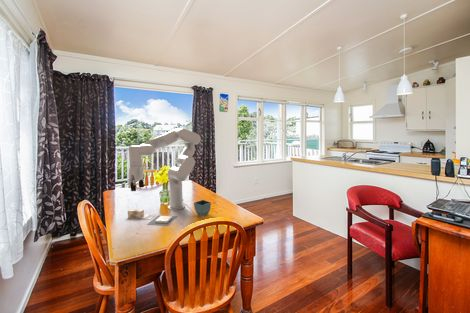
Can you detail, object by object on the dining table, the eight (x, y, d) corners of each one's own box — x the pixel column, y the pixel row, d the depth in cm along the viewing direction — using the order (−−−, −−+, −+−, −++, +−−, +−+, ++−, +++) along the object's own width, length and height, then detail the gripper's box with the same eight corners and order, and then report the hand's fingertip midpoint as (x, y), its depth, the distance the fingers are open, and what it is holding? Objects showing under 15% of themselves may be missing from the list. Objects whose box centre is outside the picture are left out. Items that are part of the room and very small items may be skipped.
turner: (126, 219, 151) (125, 211, 150) (132, 215, 158) (131, 208, 157) (150, 220, 149) (149, 212, 148) (155, 216, 156) (154, 209, 155)
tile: (160, 215, 151) (172, 216, 150) (160, 217, 151) (172, 218, 150) (155, 220, 143) (167, 221, 142) (155, 222, 144) (167, 223, 143)
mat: (158, 216, 156) (158, 215, 156) (177, 216, 154) (177, 216, 154) (146, 225, 140) (146, 224, 140) (167, 226, 138) (167, 226, 138)
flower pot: (201, 218, 152) (201, 205, 151) (193, 214, 158) (193, 202, 157) (211, 214, 158) (211, 202, 157) (203, 211, 164) (203, 199, 163)
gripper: (137, 162, 158) (139, 185, 160) (122, 166, 141) (124, 192, 143) (147, 162, 157) (149, 185, 159) (133, 166, 140) (135, 192, 142)
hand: (137, 189), depth 151 cm, fingers open, 9 cm apart
